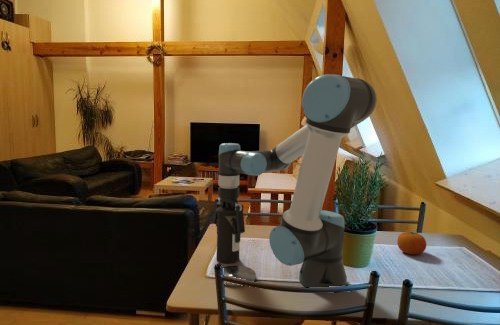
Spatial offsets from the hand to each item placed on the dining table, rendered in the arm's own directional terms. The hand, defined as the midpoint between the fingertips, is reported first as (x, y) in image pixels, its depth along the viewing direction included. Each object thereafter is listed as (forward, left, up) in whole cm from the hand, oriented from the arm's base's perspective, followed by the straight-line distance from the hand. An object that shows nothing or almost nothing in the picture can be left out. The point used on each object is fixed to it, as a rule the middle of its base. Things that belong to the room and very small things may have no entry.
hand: (228, 246), depth 128 cm
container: (0, 0, -5) cm, 5 cm away
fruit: (-41, -61, -5) cm, 74 cm away
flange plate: (-13, +7, -5) cm, 16 cm away
